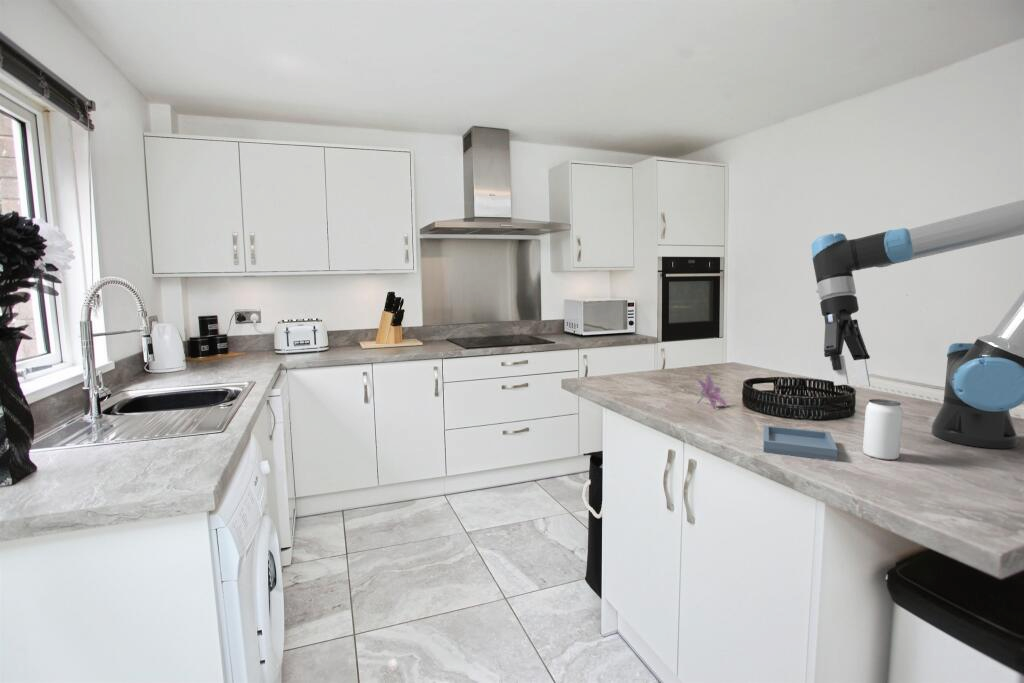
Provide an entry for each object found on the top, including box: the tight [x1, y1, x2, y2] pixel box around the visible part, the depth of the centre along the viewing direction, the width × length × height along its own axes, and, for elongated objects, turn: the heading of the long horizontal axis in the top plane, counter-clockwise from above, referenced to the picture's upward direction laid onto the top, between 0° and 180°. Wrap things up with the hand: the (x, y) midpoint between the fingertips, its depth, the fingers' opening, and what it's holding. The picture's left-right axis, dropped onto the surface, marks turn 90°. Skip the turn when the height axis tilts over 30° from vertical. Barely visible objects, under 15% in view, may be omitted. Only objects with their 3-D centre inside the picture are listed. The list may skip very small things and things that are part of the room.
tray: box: [763, 424, 838, 462], centre depth 117 cm, size 14×14×2 cm
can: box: [862, 398, 903, 461], centre depth 111 cm, size 6×6×12 cm
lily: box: [695, 372, 728, 410], centre depth 156 cm, size 12×12×10 cm
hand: (852, 386), depth 118 cm, fingers open, 13 cm apart
